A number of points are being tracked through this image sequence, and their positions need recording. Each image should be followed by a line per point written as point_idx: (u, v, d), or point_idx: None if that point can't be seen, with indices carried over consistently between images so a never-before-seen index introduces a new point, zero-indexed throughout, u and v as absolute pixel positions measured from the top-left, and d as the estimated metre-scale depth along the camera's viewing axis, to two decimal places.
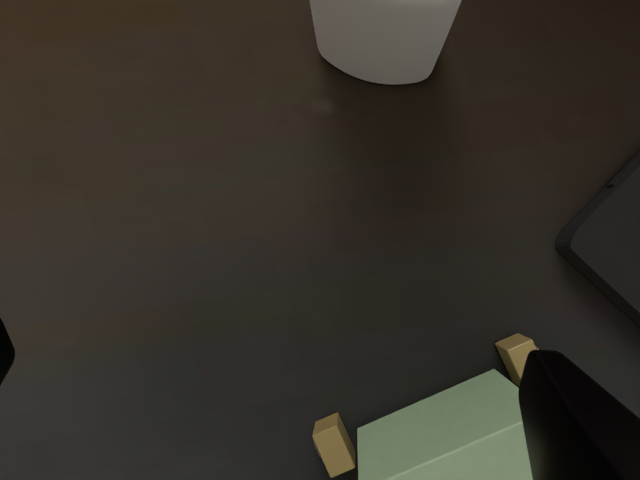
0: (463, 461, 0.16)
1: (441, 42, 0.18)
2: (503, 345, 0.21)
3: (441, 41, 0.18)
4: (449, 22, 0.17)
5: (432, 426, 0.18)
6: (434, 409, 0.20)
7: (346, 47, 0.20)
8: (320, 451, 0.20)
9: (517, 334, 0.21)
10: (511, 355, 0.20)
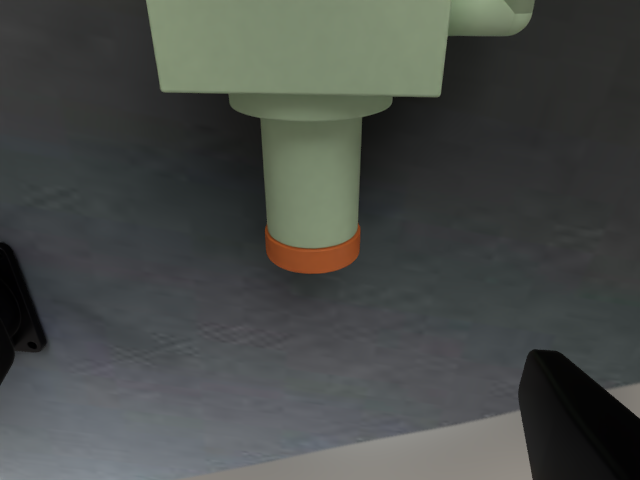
0: None
1: None
2: None
3: None
4: None
5: None
6: None
7: None
8: None
9: None
10: None
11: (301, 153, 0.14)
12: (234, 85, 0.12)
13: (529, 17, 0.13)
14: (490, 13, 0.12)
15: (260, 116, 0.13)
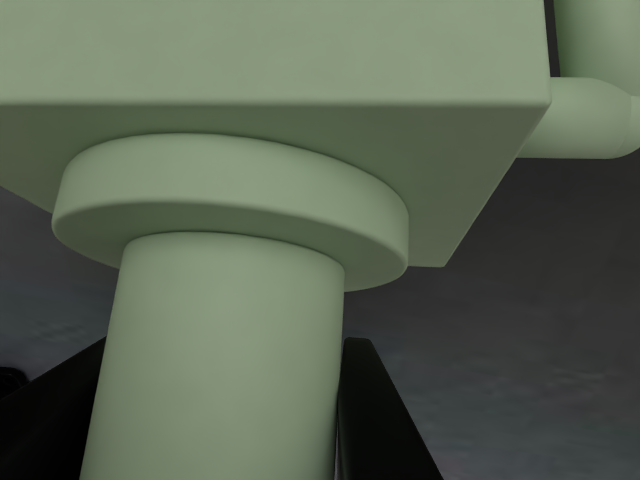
0: None
1: None
2: None
3: None
4: None
5: None
6: None
7: None
8: None
9: None
10: None
11: (178, 329, 0.05)
12: (18, 82, 0.05)
13: None
14: (583, 97, 0.07)
15: (84, 203, 0.05)
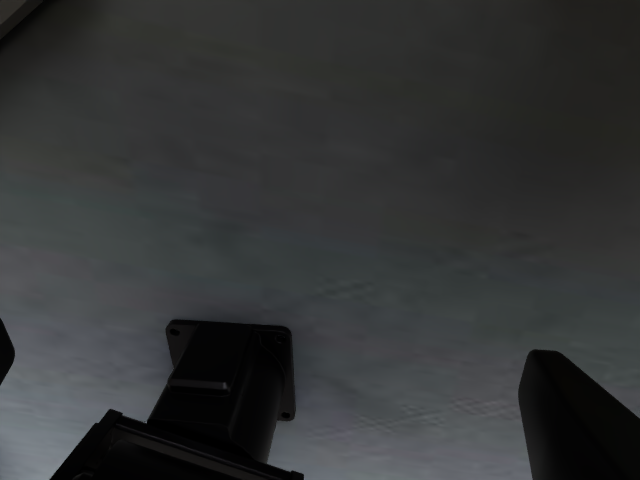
0: None
1: None
2: None
3: None
4: None
5: None
6: None
7: None
8: None
9: None
10: None
11: None
12: None
13: None
14: None
15: None
